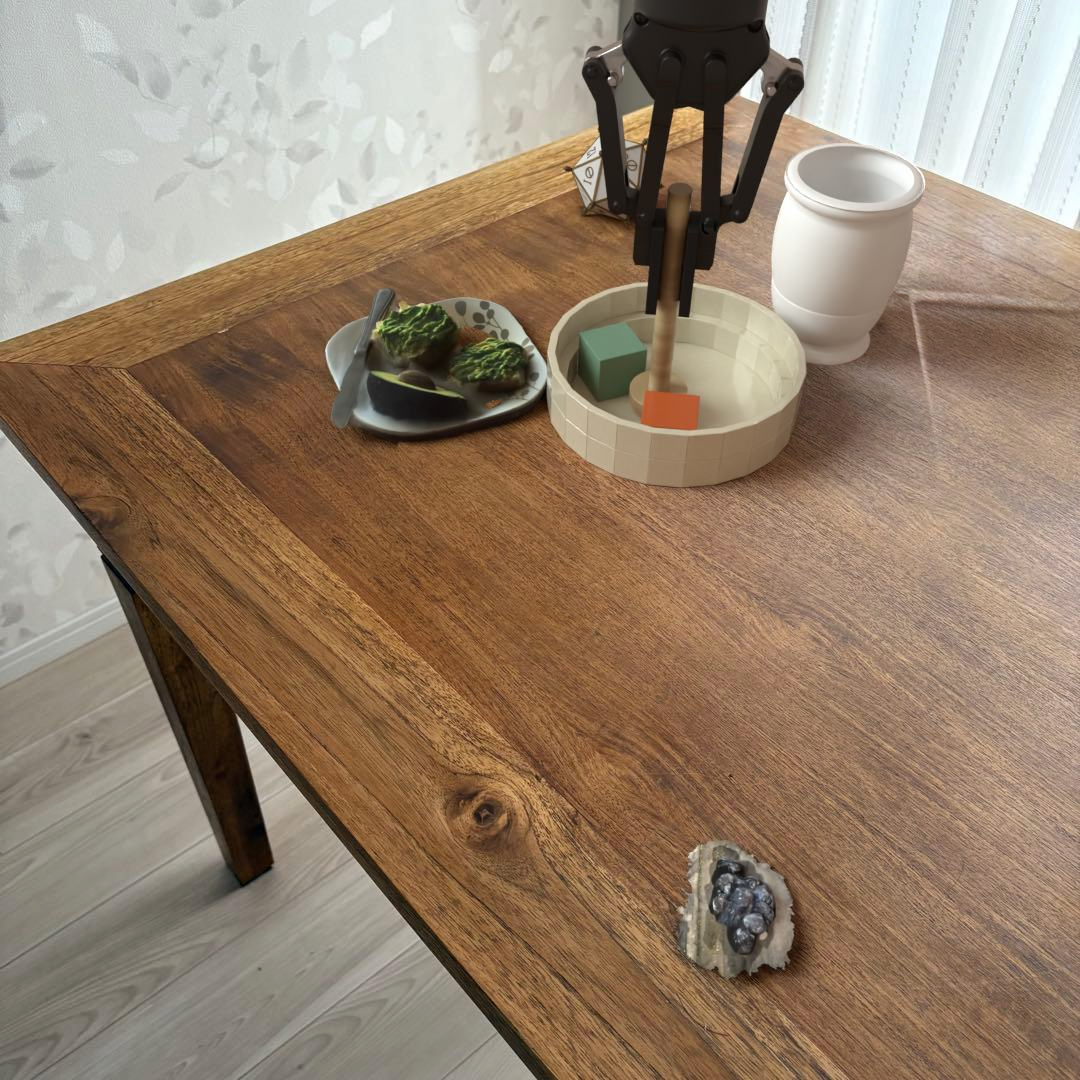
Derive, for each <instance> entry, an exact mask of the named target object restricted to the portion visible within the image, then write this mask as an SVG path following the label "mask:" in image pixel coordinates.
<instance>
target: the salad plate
mask: <svg viewBox="0 0 1080 1080" xmlns="http://www.w3.org/2000/svg"><path fill="white" fill-rule="evenodd" d="M398 306H399V307H398ZM464 327H469V328H472V329H476V330H477V331H481V332H483V333H486V334H488V335H490V336H491V337H487V338H486V339H485V340H484V341H481V342H480V343H475V342H470V343H467V344H466V345H465V346H462V345H460V344H459V339H460V337H461V334H462V333H463V331H464V329H465V328H464ZM324 351H325V359H326V364H327V367H328V370H329V372H330V375H331V377H332V378H333V380H334V382H335V384H336V387H337V389H338V390H339V393H336V394H335V396H334V399H333V402H332V407H331V414H330V421H331V422H332V423H333V424H335V425H336V426H337V428H339V430H341V429H343V428H346V427H350V428H351V427H352V428H355V429H358V430H359V429H360V430H363V431H365V432H368V433H370V434H372V435H375V436H376V437H378V438H381V439H383V440H386V441H389V442H394V443H398V444H399V443H400V442H422V441H423V442H424V441H432V440H437V439H445V438H451V437H456V436H458V435H463V434H468V433H471V432H476V431H480V430H484V429H489V428H494V427H497V426H501V425H503V424H506V423H509V422H511V421H513V420H516V419H517V418H519V417H521V416H523V415H524V414H526V413H528V412H530V411H531V410H532V409H533V408H534V407H535V406H536V405H537V404H538V403H539V402H540V400H541V399H542V397H543V395H545V393H546V392H547V361H546V360H545V359H544V358H543V356H542V354H541V353H540V351H539V350H538V348H537V347H536V345H535V344H534V343H533V341H532V340H531V338H530V337H529V336H528V335H527V334H526V332H525V330H524V327H523V325H521V324H520V323H519V321H518V320H517V319H516V318H515V316H514V315H513V314H512V313H511V312H510V311H509V310H508V309H507V308H506V307H505V306H502V305H500V304H499V303H496V302H493V301H490V300H486V299H481V298H477V297H476V298H475V297H468V296H467V297H465V296H463V297H462V296H461V297H452V298H447V299H443V300H438V301H435V302H431V303H427V304H426V303H423V302H420V303H419V304H416V305H409V304H408V302H407V300H406V299H401V300H399V301H398V305H397V293H396V292H395V290H393V289H392V288H390V287H384V288H380V289H378V290H377V291H376V293H375V294H374V297H373V300H372V303H371V306H370V309H369V313H368V315H367V316H365V317H361V318H359V319H357V320H353V321H352V322H349V323H347V324H345V325H344V326H343V327H341V328H340V329H339V330H337V332H335V334H334V335H332V336H331V337H330V339H329V340H328V342H327V343H326V346H325V349H324ZM449 375H451V377H450V378H449V379H448V380H447V377H448V376H449ZM498 400H500V402H499V403H497V404H495V405H493V406H492V407H491V408H487V407H486V405H487V404H489V403H490V402H493V401H498Z"/></svg>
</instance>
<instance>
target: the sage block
mask: <svg viewBox="0 0 1080 1080" xmlns="http://www.w3.org/2000/svg"><path fill="white" fill-rule="evenodd" d="M646 359H647V348H646V347H645V346H644V345H643V343H642V342H641V341H640V340H639V338H638V337H637V336H636V334H635V333H634V332H633V331H632V329H631V328H630V327H629V326H628V324H627V323H626V322H622V323H618V324H613V325H609V326H605V327H601V328H596V329H592V330H588V331H584V332H580V333H579V352H578V375H579V376H580V378H581V379H582V380H583V382H584V383H585V385H586V386H587V387H588V389H589V390H590V392H591V393H592V395H593V396H594V397H595V399H596V400H597V402H601V401H605V400H609V399H613V398H617V397H621V396H625V395H628V394H629V389H630V383H631V381H632V380H633V379H634V378H635V377H636V376H637V375H638V374H640V373H642V372H645V370H646Z"/></svg>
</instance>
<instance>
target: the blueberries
mask: <svg viewBox="0 0 1080 1080" xmlns="http://www.w3.org/2000/svg"><path fill="white" fill-rule="evenodd" d="M754 857H755V856H754V854H749V853H748V852H747V851H746V850H744V849H743V848H742V847H740V846H738V844H737V842H734V841H732V840H727V839H722V838H720V839H714V840H712V839H711V838H708V840H707V841H706V843H704V844H703V843H700V844H696V845H695V848H694V849H693V851H690V852H688V856H687V857H686V859H687V858H688V859H689V860H690V862H691V863H690V862H688V863H687V865H688V866H690V867H689V869H688V871H687V874H685V877H686V879H687V881H688V883H689V885H690V886H691V889H692V890H691V892H690V893H689V892H688V891H686V890H685V889H684V888H683V887H681V888H680V889H681V890H682V891H683V892H684V895H685V896H687V898H684V900H685V901H687V902H685V905H684V906H685V907H684V906H683V905H680V906H678V907H677V909H676V911H677V912H678V914H679V915H682V917H681V919H680V920H679V921H680V923H679V924H678V927H679V928H677V929H678V930H676V932H675V936H676V937H677V941H676V943H675V945H676V946H678V947H680V952H681V951H682V952H683V955H684V956H685V958H688V959H690V960H691V961H693V962H694V963H696V965H697V966H699V967H701V969H703V968H705V969H706V970H709V971H712V970H713V969H715V967H717V969H718V970H717V972H718V974H719V975H720V976H721V977H723V978H725V980H729V979H731V978H733V979H734V978H736V977H738V976H739V975H738V974H741V972H743V971H745V972H746V973H748V976H750V977H751V976H752V973H758V972H759V969H758V968H759V967H762V965H764V964H765V965H769V967H771V968H773V969H774V970H777V968H781V969H782V970H785V967H786V963H787V964H790V962H791V959H790V958H789V956H788V952H789V951H791V950H792V944H793V940H794V936H795V934H794V929H795V924H794V923H793V922H792V921H791V920H792V916H795V913H794V912H793V909H792V908H791V907H792V906H793V901H794V899H793V898H792V897H793V896H792V894H791V892H790V891H789V888H788V886H787V883H786V882H785V876H783V875H782V874H781V873H780V872H777V871H775V870H773V869H771V864H769V862H766V863H765V862H763V861H762V860H761V861H760V862H757V859H756V858H754ZM791 915H792V916H791ZM785 962H786V963H785Z"/></svg>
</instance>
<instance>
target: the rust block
mask: <svg viewBox="0 0 1080 1080" xmlns="http://www.w3.org/2000/svg"><path fill="white" fill-rule="evenodd" d="M699 403H700V396H696V395H686V394H676V393H666V392H656V391H647V390H646V391H645V397H644V403H643V410H642V417H641V424H643V425H647V426H650V427H654V428H666V429H677V430H697V424H698V413H699Z"/></svg>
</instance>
